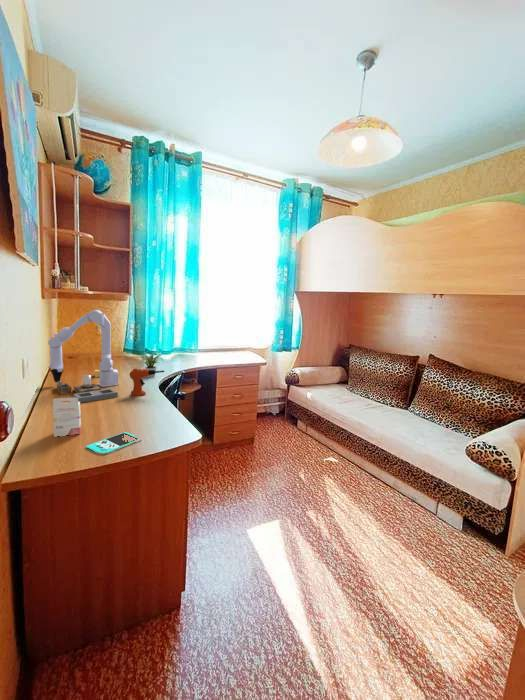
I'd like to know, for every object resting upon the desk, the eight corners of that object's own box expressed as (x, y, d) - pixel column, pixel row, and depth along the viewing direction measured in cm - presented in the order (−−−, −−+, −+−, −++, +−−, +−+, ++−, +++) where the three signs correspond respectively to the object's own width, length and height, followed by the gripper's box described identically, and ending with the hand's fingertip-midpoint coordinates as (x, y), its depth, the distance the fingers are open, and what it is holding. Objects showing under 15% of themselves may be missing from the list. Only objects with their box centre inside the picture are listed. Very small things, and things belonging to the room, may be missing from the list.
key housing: (65, 389, 174) (65, 382, 174) (71, 393, 168) (71, 386, 167) (56, 390, 171) (56, 383, 171) (62, 394, 165) (61, 388, 164)
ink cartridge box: (81, 429, 125) (80, 393, 123) (79, 434, 121) (79, 397, 118) (55, 432, 122) (54, 395, 119) (53, 437, 117) (51, 399, 115)
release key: (61, 385, 177) (61, 380, 176) (66, 388, 171) (66, 384, 170) (56, 385, 175) (56, 381, 174) (61, 389, 169) (60, 385, 169)
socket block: (94, 388, 179) (94, 383, 179) (100, 392, 172) (100, 388, 172) (73, 390, 172) (73, 386, 172) (80, 395, 165) (80, 390, 165)
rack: (111, 392, 173) (111, 388, 172) (117, 396, 167) (117, 392, 167) (73, 398, 160) (73, 394, 159) (79, 403, 154) (78, 398, 154)
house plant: (165, 378, 211) (166, 354, 208) (144, 380, 203) (144, 354, 200) (159, 373, 222) (159, 350, 220) (138, 375, 215) (138, 351, 212)
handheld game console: (85, 448, 111) (84, 445, 111) (125, 434, 125) (125, 431, 125) (102, 457, 106) (101, 453, 106) (142, 441, 120) (142, 438, 119)
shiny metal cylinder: (90, 390, 175) (89, 374, 174) (92, 392, 172) (92, 375, 171) (82, 391, 172) (81, 375, 171) (84, 393, 169) (84, 376, 168)
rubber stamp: (111, 374, 211) (111, 357, 209) (111, 376, 206) (111, 358, 204) (94, 375, 206) (94, 357, 205) (94, 377, 201) (94, 359, 200)
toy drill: (166, 393, 173) (163, 366, 170) (130, 397, 170) (126, 370, 168) (167, 391, 178) (164, 365, 175) (132, 394, 175) (128, 368, 172)
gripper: (44, 356, 178) (45, 380, 180) (51, 361, 168) (52, 386, 170) (59, 355, 183) (59, 378, 185) (66, 360, 173) (67, 384, 175)
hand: (57, 382), depth 178 cm, fingers closed
